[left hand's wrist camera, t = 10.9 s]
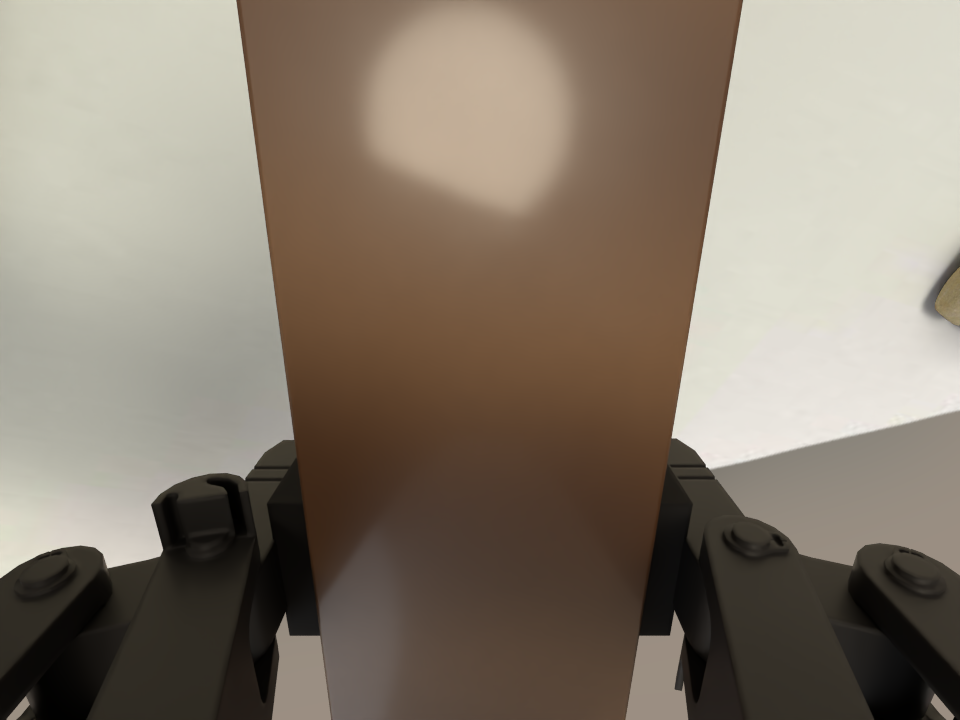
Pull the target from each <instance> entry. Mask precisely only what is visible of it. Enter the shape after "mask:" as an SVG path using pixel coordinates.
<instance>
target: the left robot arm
mask: <svg viewBox="0 0 960 720" xmlns="http://www.w3.org/2000/svg"><path fill="white" fill-rule="evenodd" d="M151 506H152V509H153V513H154V517H155V521H156V524H157V528H158V532H159V535H160V539H161V543H162V546H163V552H162V554H161V556H160V557H157V558H153V559H150V560H145V561H141V562H136V563H131V564H127V565H122V566H117V567H113V568H108V569H107V566H106V563H105V560H104V556H103V554H102V553H101V552H100V551H98V550H97V549H96V548H93V547H86V546H74V547H67V548H61V549H57V550H53V551H51V552H46V553H44V554H41V555H38V556H36V557H35V558H33V559H31V560H29V561H27V562H25V563H23V564H21V565H19V566H17V567H16V568H14V569H13V570H12V571H10V572H9V573H7V574H6V575H5V576H3V577H2V578H0V720H6V719H7V717H8V716H9V715H10V714H11V713H12V712H13V710H14V709H15V708H16V707H17V706H18V704H19V703H20V702H21V701H22V700H23V699H24V697H25V696H26V697H27V699H28V701H29V704H30V705H29V706H28V708H27V709H26V710H25V711H24V713H23V714H22V715H21V716H20V717H19V718H18V719H17V720H272V713H273V705H274V696H275V687H276V679H277V671H278V662H279V652H278V645H277V639H276V632H277V630H278V628H279V626H280V623H281V621H282V619H283V616H284V614H285V612H286V617H287V622H288V628H289V634H290V636H320V629H319V622H318V614H317V607H316V599H315V592H314V584H313V576H312V569H311V561H310V554H309V546H308V538H307V531H306V523H305V516H304V508H303V501H302V493H301V485H300V478H299V470H298V463H297V455H296V448H295V440H283V441H282V442H280V443H279V444H277V445H276V446H274V447H273V448H271V449H269V450H268V451H266V452H265V453H264V454H263V456H262V457H261V458H260V460H259V461H258V462H257V464H256V465H255V466H254V469H252V470H251V472H250V473H249V474H248V476H247V477H246V478H245V480H243V479H242V478H241V477H240V476H237V475H232V474H228V473H219V474H207V475H203V476H198V477H193V478H190V479H188V480H185V481H183V482H180V483H178V484H176V485H174V486H172V487H171V488H169V489H167V490H166V491H164V492H163V493H161V494H160V495H159V496H158V497H157V498H156V500H155V501H154V502H153V503H152V504H151ZM674 610H675V612H676V615H677V617H678V619H679V621H680V624H681V626H682V628H683V631H684V633H685V634H684V639H683V644H682V650H681V655H680V661H679V666H678V671H677V676H676V683H675V689H676V690H680V691H682V687H683V682H684V686H685V695H686V703H687V712H688V720H946V719H945V718H944V717H943V716H942V715H941V714H940V713H939V712H938V711H937V710H936V709H935V707H934V706H933V705H932V704H931V700H932V698H933V696H934V694H936V695H937V696H938V697H939V699H940V700H941V701H942V702H943V703H944V705H945V706H946V707H947V708H948V709H949V710H950V712H951V713H952V714H953V715H954V716H955V717H954V719H953V720H960V575H958V574H957V573H955V572H954V571H952V570H951V569H950V568H948V567H947V566H945V565H944V564H943V563H941V562H939V561H937V560H935V559H933V558H930V557H928V556H926V555H925V554H923V553H921V552H918V551H915V550H913V549H909V548H905V547H901V546H897V545H889V544H881V543H879V544H871V545H865V546H864V547H863V548H862V549H860V550H859V551H858V552H857V555H856V558H855V561H854V564H853V566H849V565H844V564H839V563H835V562H830V561H825V560H821V559H816V558H811V557H808V556H804V555H801V554H799V553H798V551H797V549H796V548H795V546H794V545H793V544H792V542H791V541H790V539H789V538H788V537H786V536H785V535H784V534H783V533H781V532H780V531H778V530H777V529H776V528H774V527H772V526H770V525H768V524H766V523H763V522H761V521H759V520H756V519H752V518H748V517H745V516H744V515H743V513H742V512H741V511H740V509H739V508H738V507H737V505H736V504H735V503H734V501H733V500H732V499H731V497H730V496H729V495H728V494H727V492H726V491H725V490H724V488H723V487H722V486H721V484H720V483H719V482H718V480H715V477H714V475H713V474H712V472H711V471H710V470H709V469H708V468H706V465H705V463H704V462H703V461H702V459H701V458H700V457H699V455H698V454H697V453H696V451H695V450H693V449H692V448H690V447H689V446H687V445H685V444H684V443H682V442H681V441H679V440H678V439H671V443H670V449H669V456H668V462H667V468H666V474H665V480H664V486H663V492H662V498H661V504H660V511H659V517H658V523H657V529H656V535H655V541H654V547H653V553H652V560H651V566H650V572H649V578H648V584H647V590H646V596H645V602H644V608H643V615H642V621H641V627H640V633H639V636H669V635H670V632H671V626H672V620H673V615H674Z"/></svg>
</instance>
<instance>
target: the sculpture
mask: <svg viewBox="0 0 960 720" xmlns="http://www.w3.org/2000/svg"><path fill="white" fill-rule="evenodd" d="M935 309H936V310H937V312H938V313H940V314H941V315H942V316H943V317H944V318H946V319H947V320H948V321H950V322H951V323H953V324H954V325H959V326H960V267H959V268H958V269H957V270H956V271H955V272H954V273H953V275H952V276H951V277H950V278H949V279H948V281H947V282H946V283H945V284H944V286H943V288H942V290H941V291H940V293H939V295H938V297H937V299H936V302H935Z"/></svg>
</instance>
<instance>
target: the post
mask: <svg viewBox="0 0 960 720" xmlns="http://www.w3.org/2000/svg"><path fill="white" fill-rule="evenodd" d="M742 3H743V0H237V8H238V16H239V23H240V31H241V38H242V46H243V54H244V61H245V69H246V76H247V84H248V91H249V99H250V107H251V114H252V122H253V129H254V137H255V144H256V152H257V160H258V167H259V175H260V182H261V190H262V197H263V205H264V213H265V220H266V228H267V235H268V243H269V251H270V258H271V266H272V273H273V281H274V288H275V296H276V304H277V311H278V319H279V326H280V334H281V341H282V349H283V357H284V364H285V372H286V379H287V387H288V395H289V402H290V410H291V417H292V425H293V432H294V440H295V448H296V455H297V463H298V470H299V478H300V485H301V493H302V501H303V508H304V516H305V523H306V531H307V538H308V546H309V554H310V561H311V569H312V576H313V584H314V592H315V599H316V607H317V614H318V622H319V629H320V637H321V644H322V652H323V660H324V667H325V675H326V682H327V690H328V698H329V705H330V713H331V720H625V718H626V712H627V706H628V700H629V694H630V688H631V682H632V676H633V670H634V663H635V657H636V651H637V645H638V639H639V633H640V627H641V621H642V615H643V608H644V602H645V596H646V590H647V584H648V578H649V572H650V566H651V560H652V553H653V547H654V541H655V535H656V529H657V523H658V517H659V511H660V504H661V498H662V492H663V486H664V480H665V474H666V468H667V462H668V456H669V449H670V443H671V437H672V431H673V425H674V419H675V413H676V407H677V401H678V394H679V388H680V382H681V376H682V370H683V364H684V358H685V352H686V346H687V339H688V333H689V327H690V321H691V315H692V309H693V303H694V297H695V291H696V284H697V278H698V272H699V266H700V260H701V254H702V248H703V242H704V235H705V229H706V223H707V217H708V211H709V205H710V199H711V193H712V187H713V180H714V174H715V168H716V162H717V156H718V150H719V144H720V138H721V132H722V125H723V119H724V113H725V107H726V101H727V95H728V89H729V83H730V77H731V70H732V64H733V58H734V52H735V46H736V40H737V34H738V28H739V22H740V15H741V9H742Z"/></svg>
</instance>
